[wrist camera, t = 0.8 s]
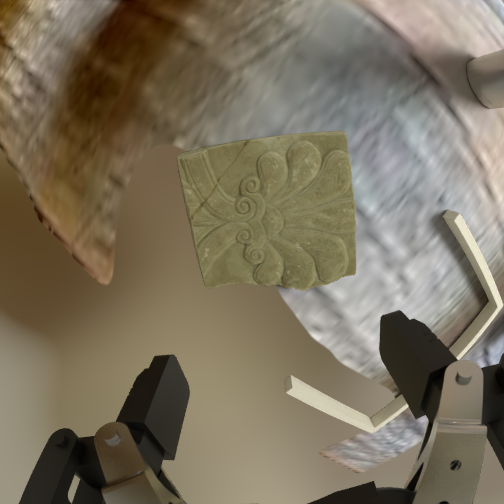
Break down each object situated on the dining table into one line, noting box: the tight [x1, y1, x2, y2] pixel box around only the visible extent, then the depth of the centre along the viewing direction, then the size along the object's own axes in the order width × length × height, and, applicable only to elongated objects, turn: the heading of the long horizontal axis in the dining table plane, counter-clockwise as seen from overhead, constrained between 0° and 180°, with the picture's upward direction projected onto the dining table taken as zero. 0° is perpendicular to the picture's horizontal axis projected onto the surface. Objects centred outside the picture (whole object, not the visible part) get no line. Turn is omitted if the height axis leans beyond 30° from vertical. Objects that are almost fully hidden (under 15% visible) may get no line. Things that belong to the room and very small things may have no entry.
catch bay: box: [284, 210, 503, 433], centre depth 37 cm, size 37×26×3 cm
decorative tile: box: [177, 131, 356, 291], centre depth 32 cm, size 19×20×4 cm
